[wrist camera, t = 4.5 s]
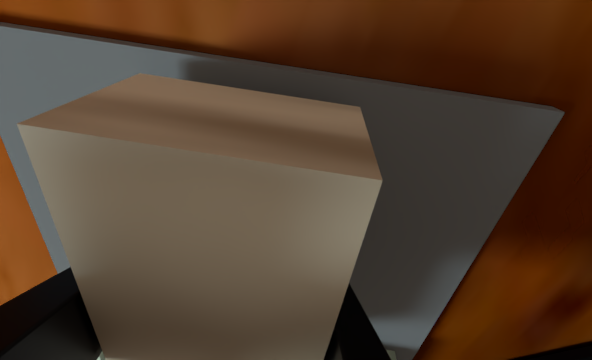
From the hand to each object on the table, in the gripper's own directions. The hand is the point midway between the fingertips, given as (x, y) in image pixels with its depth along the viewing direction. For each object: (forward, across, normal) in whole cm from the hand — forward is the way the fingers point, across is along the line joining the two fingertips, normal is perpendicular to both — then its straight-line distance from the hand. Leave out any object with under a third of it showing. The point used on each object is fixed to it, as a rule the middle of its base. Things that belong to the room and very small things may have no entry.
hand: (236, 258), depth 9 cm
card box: (+1, 0, 0) cm, 1 cm away
